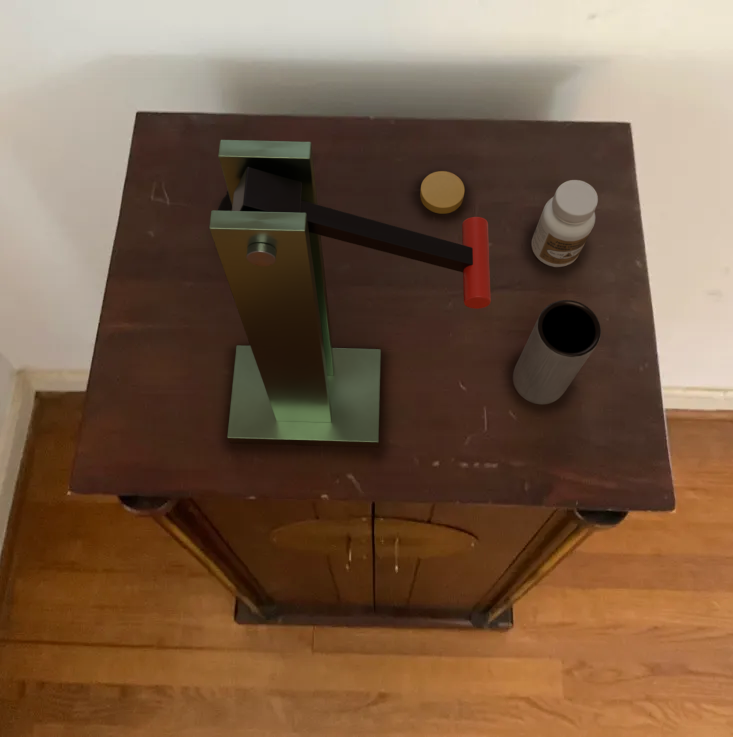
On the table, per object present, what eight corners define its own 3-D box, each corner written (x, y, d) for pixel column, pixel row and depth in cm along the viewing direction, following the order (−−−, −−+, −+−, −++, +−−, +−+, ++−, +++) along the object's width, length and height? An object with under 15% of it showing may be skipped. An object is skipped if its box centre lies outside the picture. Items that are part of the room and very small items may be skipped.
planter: (571, 362, 65) (606, 308, 55) (560, 411, 63) (595, 364, 54) (518, 348, 65) (544, 292, 56) (506, 396, 64) (531, 347, 54)
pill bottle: (540, 273, 68) (561, 226, 61) (523, 232, 70) (541, 181, 62) (587, 262, 68) (613, 213, 61) (569, 221, 70) (592, 169, 63)
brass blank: (447, 170, 72) (448, 164, 71) (471, 201, 71) (473, 194, 70) (411, 189, 71) (412, 183, 70) (436, 221, 70) (437, 214, 69)
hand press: (380, 356, 65) (391, 118, 37) (378, 447, 62) (388, 261, 34) (239, 352, 65) (145, 112, 38) (230, 443, 62) (120, 255, 35)
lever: (474, 236, 44) (497, 215, 42) (476, 314, 42) (501, 297, 40) (236, 168, 39) (249, 141, 37) (226, 254, 37) (240, 230, 35)
